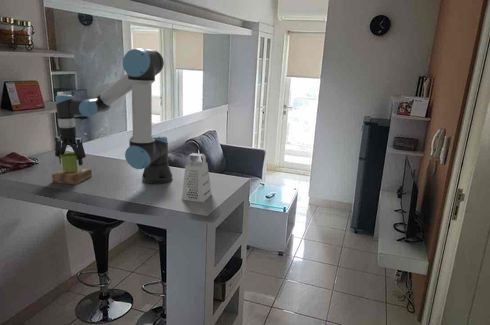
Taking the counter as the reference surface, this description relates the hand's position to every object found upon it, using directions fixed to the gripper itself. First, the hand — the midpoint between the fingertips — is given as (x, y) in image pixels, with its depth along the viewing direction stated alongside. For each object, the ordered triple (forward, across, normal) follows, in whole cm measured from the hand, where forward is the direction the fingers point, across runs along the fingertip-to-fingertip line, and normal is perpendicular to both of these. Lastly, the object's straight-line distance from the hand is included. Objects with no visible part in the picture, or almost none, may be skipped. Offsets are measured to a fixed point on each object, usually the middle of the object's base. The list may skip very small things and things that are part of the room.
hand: (72, 170), depth 189 cm
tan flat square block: (+5, 0, 0) cm, 5 cm away
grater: (+5, -69, +6) cm, 69 cm away
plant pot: (+1, 0, 0) cm, 1 cm away
